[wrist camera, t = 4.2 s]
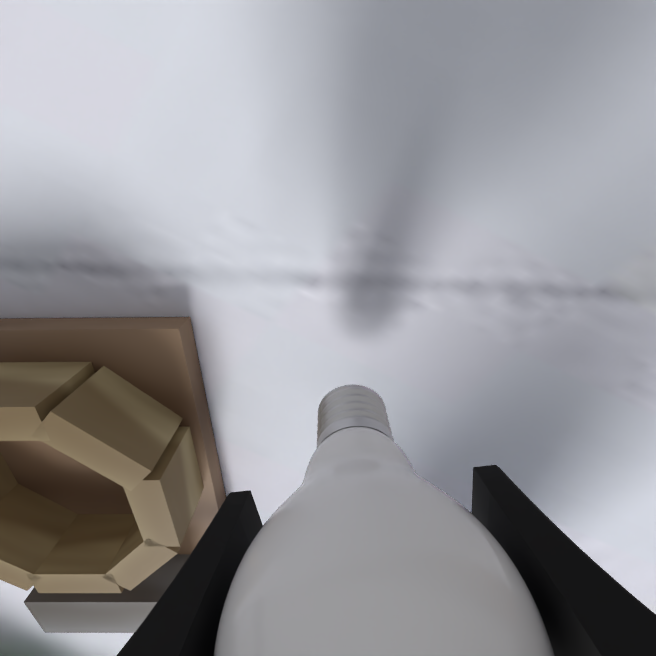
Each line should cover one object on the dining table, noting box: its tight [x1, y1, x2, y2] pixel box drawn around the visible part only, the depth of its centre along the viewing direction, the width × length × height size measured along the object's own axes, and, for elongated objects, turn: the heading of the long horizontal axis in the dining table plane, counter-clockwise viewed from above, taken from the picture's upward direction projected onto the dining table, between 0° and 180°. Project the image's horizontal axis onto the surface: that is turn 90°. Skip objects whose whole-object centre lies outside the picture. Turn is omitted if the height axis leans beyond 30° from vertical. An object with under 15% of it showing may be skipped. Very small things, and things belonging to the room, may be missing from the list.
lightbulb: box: [213, 385, 555, 656], centre depth 9 cm, size 6×6×11 cm
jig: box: [0, 317, 226, 633], centre depth 17 cm, size 20×12×4 cm, turn 1°
